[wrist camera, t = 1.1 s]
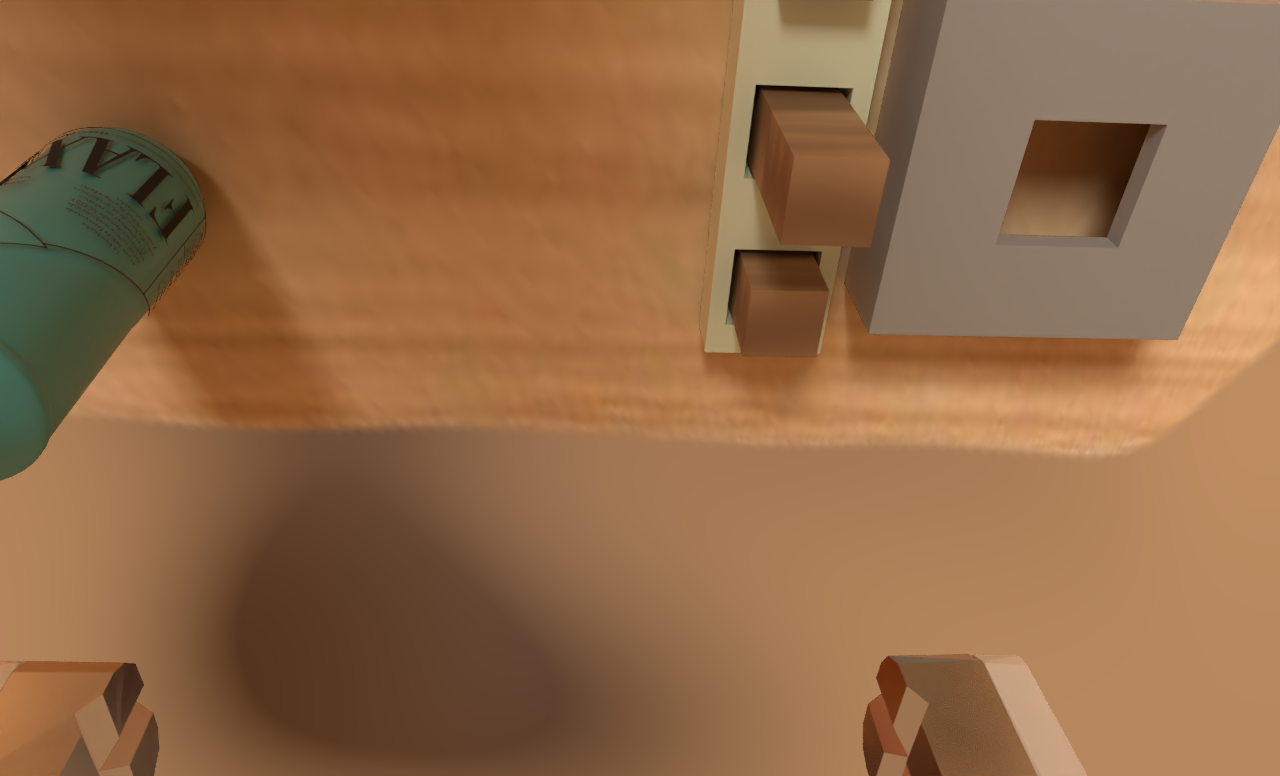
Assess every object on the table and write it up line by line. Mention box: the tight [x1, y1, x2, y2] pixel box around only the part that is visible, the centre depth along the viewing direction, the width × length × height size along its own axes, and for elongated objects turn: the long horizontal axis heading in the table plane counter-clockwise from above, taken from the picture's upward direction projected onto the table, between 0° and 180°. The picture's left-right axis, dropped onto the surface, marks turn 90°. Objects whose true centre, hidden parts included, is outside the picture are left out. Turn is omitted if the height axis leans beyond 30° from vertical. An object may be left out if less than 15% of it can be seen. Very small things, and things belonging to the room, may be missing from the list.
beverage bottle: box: [0, 127, 206, 480], centre depth 30 cm, size 6×7×20 cm
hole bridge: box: [844, 0, 1280, 340], centre depth 38 cm, size 14×14×4 cm
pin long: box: [747, 85, 890, 247], centre depth 34 cm, size 3×3×9 cm
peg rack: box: [699, 0, 892, 354], centre depth 37 cm, size 21×5×2 cm, turn 177°
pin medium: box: [728, 249, 829, 357], centre depth 40 cm, size 3×3×6 cm
